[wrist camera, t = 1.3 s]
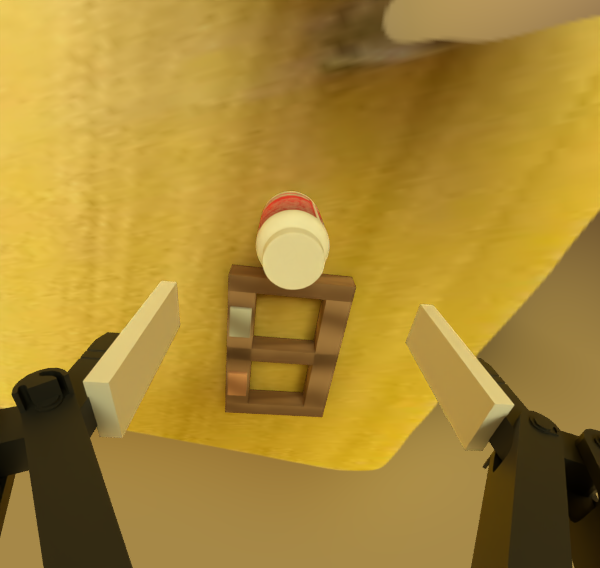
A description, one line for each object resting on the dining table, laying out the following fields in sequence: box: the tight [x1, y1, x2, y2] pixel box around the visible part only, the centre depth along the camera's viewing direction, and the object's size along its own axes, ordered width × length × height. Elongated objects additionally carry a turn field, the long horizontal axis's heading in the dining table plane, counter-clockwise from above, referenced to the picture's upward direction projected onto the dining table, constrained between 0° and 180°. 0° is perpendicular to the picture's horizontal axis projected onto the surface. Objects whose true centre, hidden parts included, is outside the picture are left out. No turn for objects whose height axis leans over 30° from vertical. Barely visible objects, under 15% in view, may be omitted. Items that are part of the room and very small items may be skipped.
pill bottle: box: [256, 191, 330, 290], centre depth 26 cm, size 6×6×11 cm
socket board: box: [225, 265, 356, 417], centre depth 38 cm, size 22×14×3 cm, turn 172°
